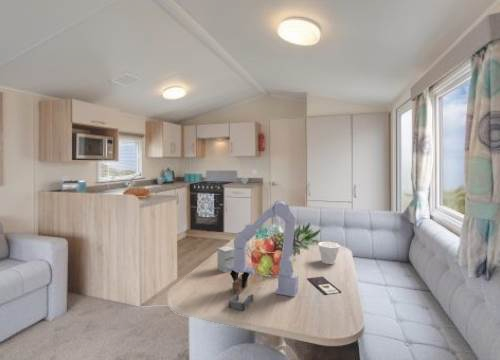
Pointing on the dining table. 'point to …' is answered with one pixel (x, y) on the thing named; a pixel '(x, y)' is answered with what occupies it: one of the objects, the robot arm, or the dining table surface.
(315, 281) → the chocolate bar
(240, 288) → the slat
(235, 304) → the gray angular bracket
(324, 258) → the cup
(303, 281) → the dining table surface
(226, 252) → the supplement box
